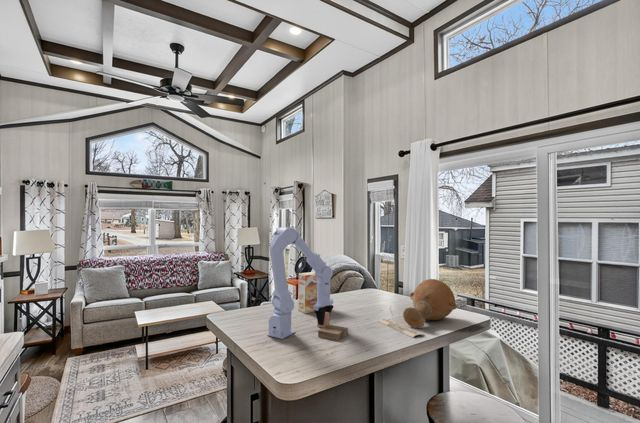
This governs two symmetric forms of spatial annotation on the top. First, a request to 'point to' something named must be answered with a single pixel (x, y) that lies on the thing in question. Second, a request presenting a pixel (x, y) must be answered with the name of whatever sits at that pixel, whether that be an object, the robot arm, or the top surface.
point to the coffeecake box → (307, 291)
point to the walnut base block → (333, 332)
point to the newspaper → (400, 328)
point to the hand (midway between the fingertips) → (323, 323)
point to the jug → (429, 303)
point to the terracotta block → (325, 320)
